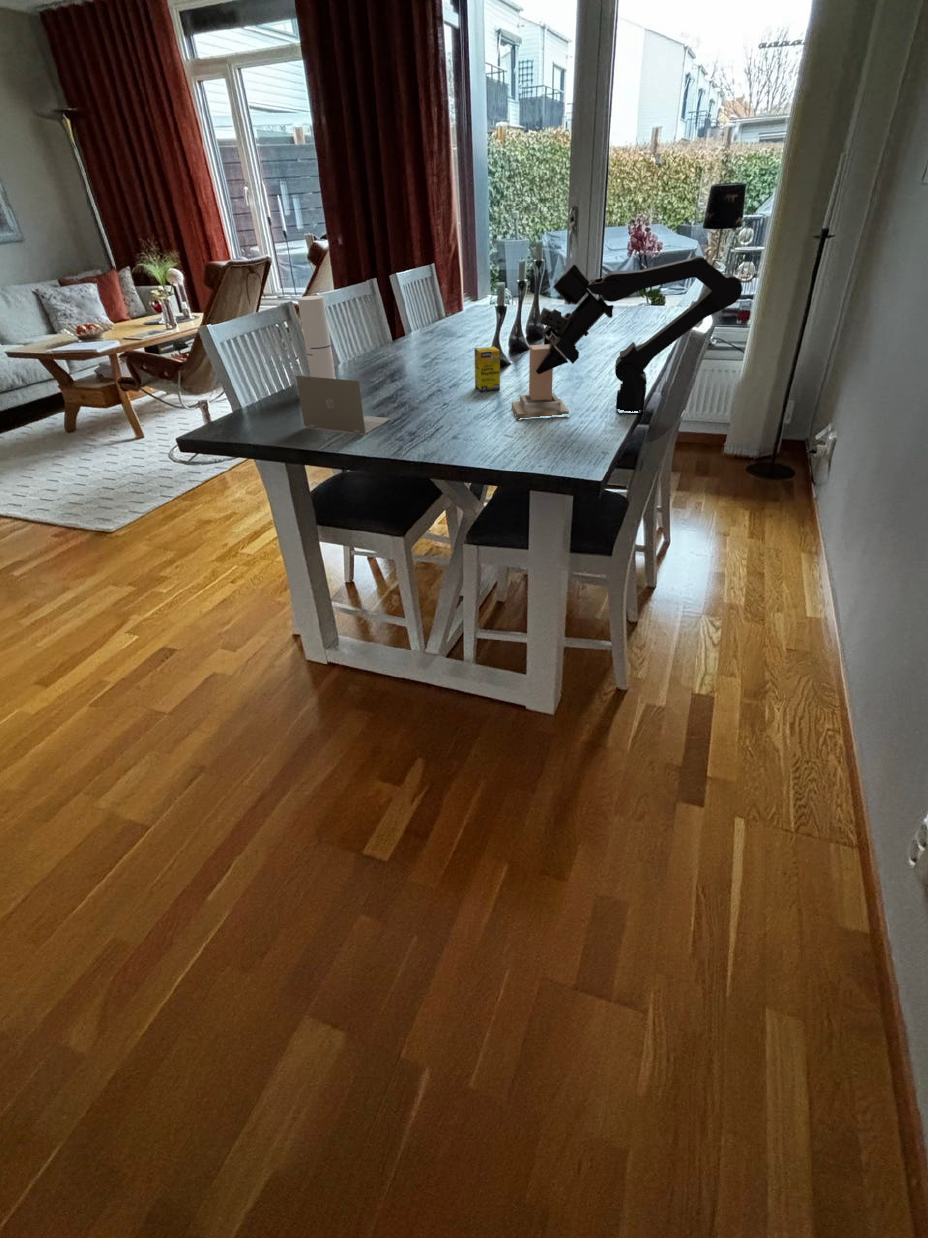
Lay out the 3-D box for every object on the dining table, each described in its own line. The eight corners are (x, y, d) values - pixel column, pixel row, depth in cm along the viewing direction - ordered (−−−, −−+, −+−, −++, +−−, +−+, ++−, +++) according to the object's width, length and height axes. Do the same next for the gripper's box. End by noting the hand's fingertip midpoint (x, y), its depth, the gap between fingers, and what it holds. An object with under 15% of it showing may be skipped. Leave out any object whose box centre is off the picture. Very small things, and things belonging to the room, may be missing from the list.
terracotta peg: (548, 393, 164) (549, 343, 158) (551, 398, 160) (553, 348, 153) (529, 394, 164) (529, 345, 157) (532, 400, 160) (532, 349, 153)
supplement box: (480, 392, 181) (479, 352, 175) (474, 387, 186) (473, 347, 180) (500, 390, 183) (500, 350, 176) (494, 385, 187) (493, 345, 181)
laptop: (391, 421, 164) (385, 368, 156) (365, 436, 154) (358, 381, 147) (332, 414, 170) (324, 363, 163) (304, 429, 161) (295, 375, 153)
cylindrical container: (332, 394, 185) (317, 299, 171) (309, 394, 187) (293, 299, 172) (340, 387, 191) (327, 295, 177) (318, 387, 192) (303, 295, 178)
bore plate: (560, 404, 169) (560, 390, 167) (568, 417, 160) (569, 402, 158) (511, 407, 169) (511, 393, 167) (517, 420, 160) (517, 405, 158)
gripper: (552, 288, 157) (507, 339, 163) (567, 300, 141) (518, 355, 147) (581, 321, 162) (537, 369, 167) (599, 336, 146) (550, 388, 152)
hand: (535, 370), depth 159 cm, fingers closed on terracotta peg, 5 cm apart
